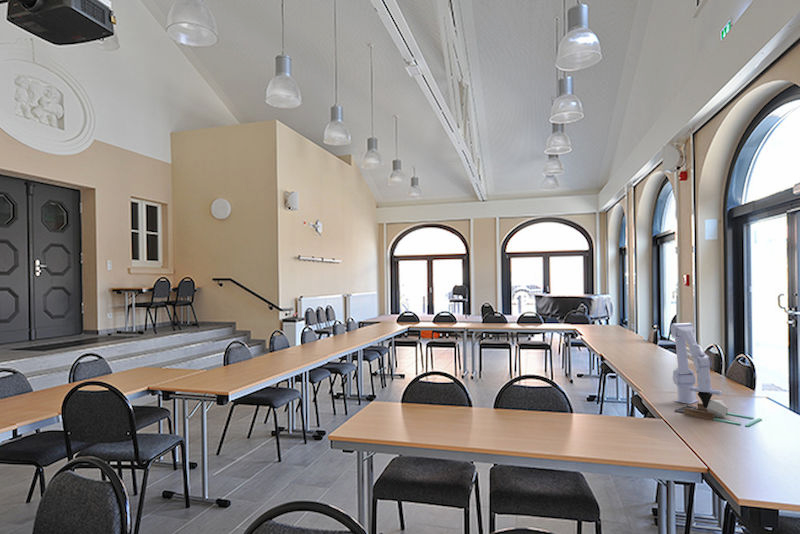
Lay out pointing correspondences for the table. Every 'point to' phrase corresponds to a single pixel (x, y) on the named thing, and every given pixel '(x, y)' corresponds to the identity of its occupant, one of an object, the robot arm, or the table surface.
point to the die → (717, 408)
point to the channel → (699, 412)
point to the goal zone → (739, 416)
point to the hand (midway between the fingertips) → (706, 407)
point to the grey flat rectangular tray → (683, 408)
